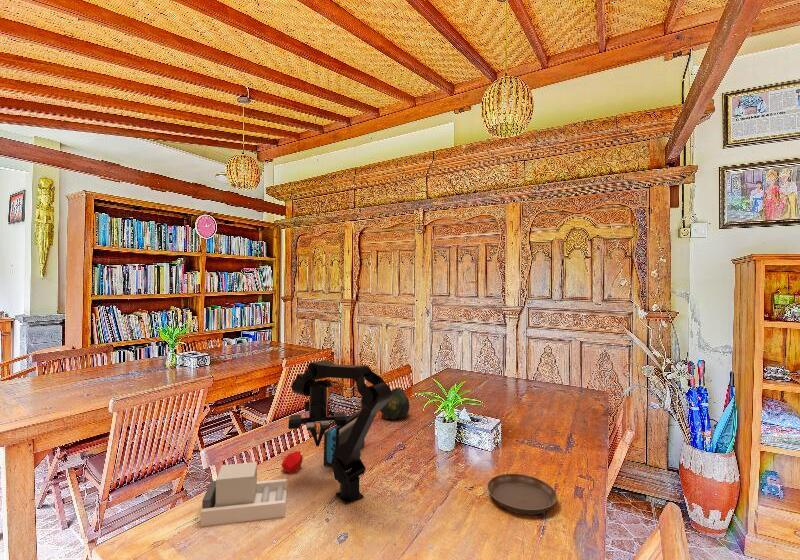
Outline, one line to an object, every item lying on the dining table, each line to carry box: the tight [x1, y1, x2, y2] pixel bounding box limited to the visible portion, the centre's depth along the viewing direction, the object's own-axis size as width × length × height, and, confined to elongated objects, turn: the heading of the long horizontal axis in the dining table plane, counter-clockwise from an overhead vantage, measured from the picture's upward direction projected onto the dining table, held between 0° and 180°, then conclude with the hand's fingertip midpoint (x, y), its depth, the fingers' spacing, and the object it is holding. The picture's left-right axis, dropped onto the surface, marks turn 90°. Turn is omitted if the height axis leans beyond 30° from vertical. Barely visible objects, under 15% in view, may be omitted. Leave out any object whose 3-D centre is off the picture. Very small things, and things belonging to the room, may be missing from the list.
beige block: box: [215, 461, 258, 507], centre depth 119 cm, size 10×9×8 cm
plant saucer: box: [486, 473, 558, 516], centre depth 126 cm, size 21×21×3 cm
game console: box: [323, 409, 365, 468], centre depth 155 cm, size 28×6×15 cm, turn 159°
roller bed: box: [200, 478, 288, 527], centre depth 119 cm, size 22×14×4 cm, turn 103°
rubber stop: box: [201, 480, 216, 510], centre depth 117 cm, size 2×11×5 cm, turn 13°
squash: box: [379, 387, 410, 421], centre depth 199 cm, size 14×15×15 cm
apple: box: [281, 450, 304, 474], centre depth 143 cm, size 7×7×8 cm
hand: (317, 445), depth 135 cm, fingers closed
